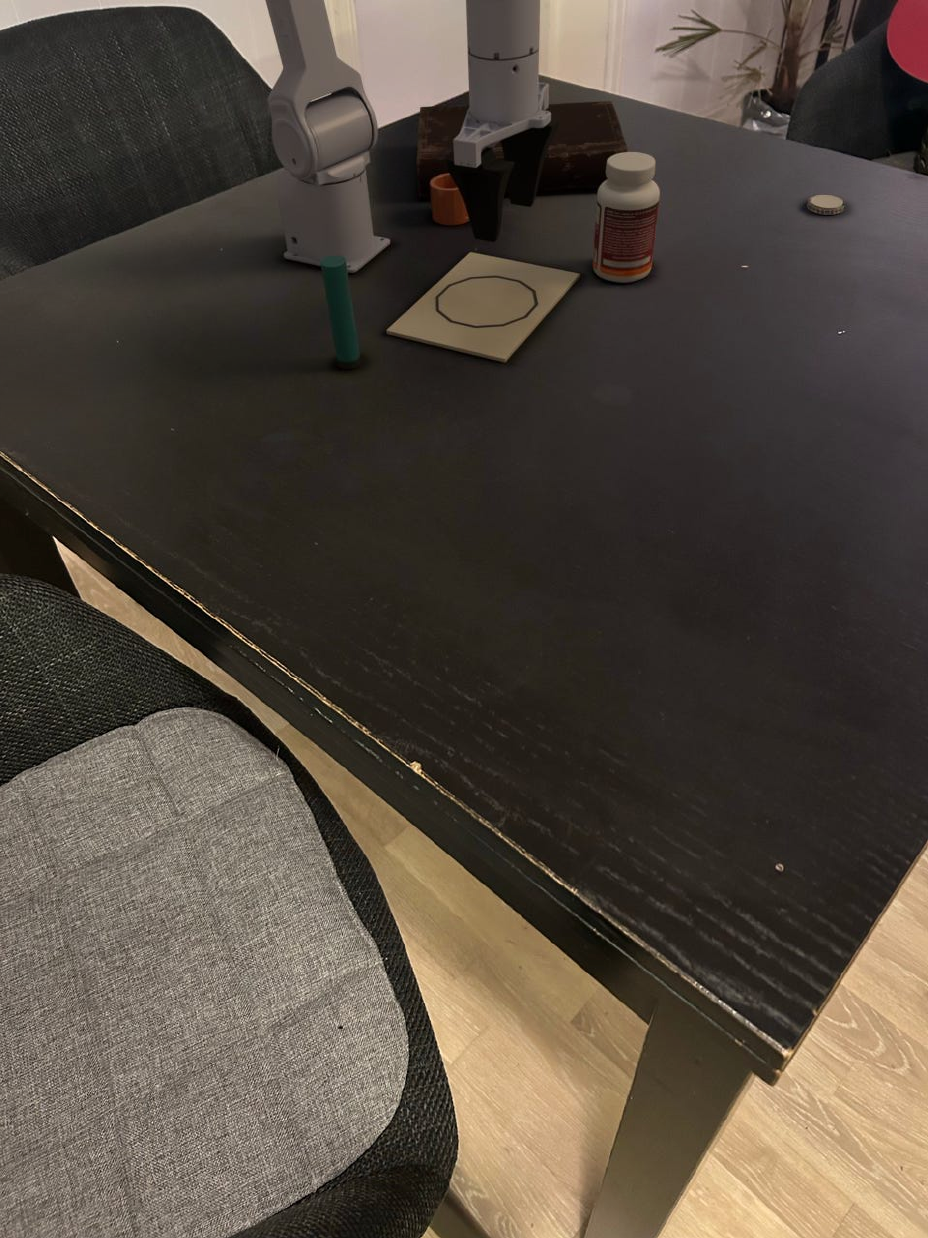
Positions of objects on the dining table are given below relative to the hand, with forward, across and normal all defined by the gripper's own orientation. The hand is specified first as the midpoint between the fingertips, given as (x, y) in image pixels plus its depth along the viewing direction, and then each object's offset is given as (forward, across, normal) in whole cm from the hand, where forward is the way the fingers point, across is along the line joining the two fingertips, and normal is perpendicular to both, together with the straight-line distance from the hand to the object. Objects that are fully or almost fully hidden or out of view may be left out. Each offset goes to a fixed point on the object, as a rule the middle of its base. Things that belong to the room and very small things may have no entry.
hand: (504, 220), depth 80 cm
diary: (+10, +35, +15) cm, 39 cm away
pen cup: (+10, +19, +16) cm, 27 cm away
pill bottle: (+10, +14, -7) cm, 19 cm away
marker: (+10, -13, +10) cm, 19 cm away
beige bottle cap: (+10, +37, -23) cm, 45 cm away
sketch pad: (+10, +2, +3) cm, 10 cm away
